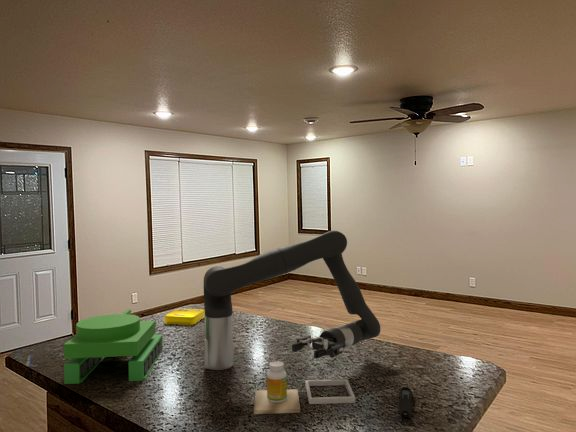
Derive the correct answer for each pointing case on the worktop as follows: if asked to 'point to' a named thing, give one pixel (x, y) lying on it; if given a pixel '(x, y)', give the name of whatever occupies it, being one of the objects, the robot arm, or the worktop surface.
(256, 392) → the pad
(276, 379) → the supplement bottle
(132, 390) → the worktop surface
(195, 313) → the element tile
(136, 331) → the tank
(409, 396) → the electric trimmer
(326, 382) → the square frame
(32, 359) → the worktop surface
